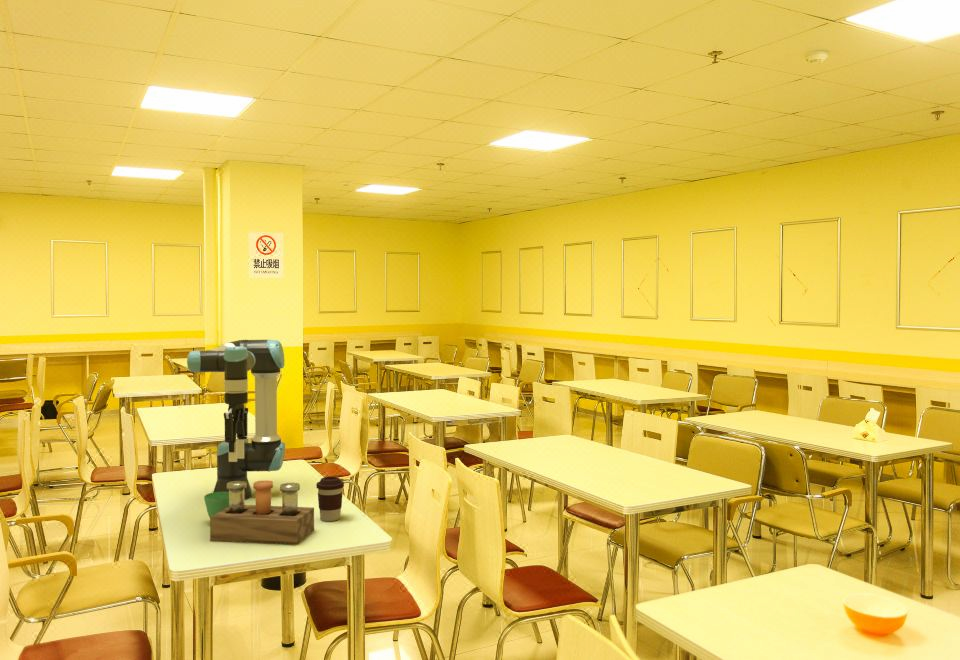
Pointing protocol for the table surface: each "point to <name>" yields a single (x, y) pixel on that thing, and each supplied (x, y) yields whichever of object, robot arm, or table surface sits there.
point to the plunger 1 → (236, 496)
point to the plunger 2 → (289, 498)
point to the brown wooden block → (262, 526)
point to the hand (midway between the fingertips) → (236, 459)
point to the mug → (216, 502)
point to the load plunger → (263, 497)
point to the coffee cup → (330, 498)
